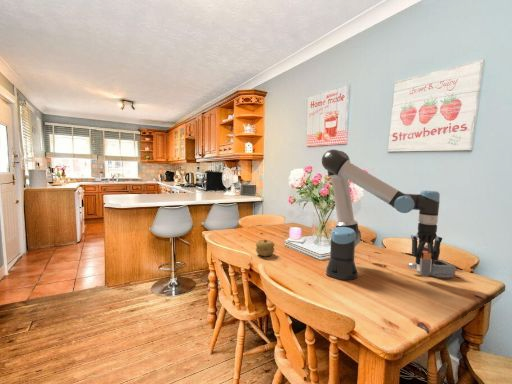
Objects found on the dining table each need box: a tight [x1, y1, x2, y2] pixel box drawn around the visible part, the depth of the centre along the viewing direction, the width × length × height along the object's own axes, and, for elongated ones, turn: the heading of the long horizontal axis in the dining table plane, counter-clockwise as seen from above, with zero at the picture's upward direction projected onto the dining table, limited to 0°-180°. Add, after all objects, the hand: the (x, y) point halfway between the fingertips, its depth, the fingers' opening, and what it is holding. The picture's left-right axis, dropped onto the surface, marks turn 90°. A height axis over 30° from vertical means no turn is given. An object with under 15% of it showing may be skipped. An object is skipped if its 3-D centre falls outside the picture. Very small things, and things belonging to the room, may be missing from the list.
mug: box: [423, 244, 441, 260], centre depth 145 cm, size 11×8×10 cm
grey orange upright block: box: [417, 251, 431, 277], centre depth 123 cm, size 4×4×11 cm
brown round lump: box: [255, 238, 275, 257], centre depth 160 cm, size 12×12×10 cm
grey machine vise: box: [407, 259, 457, 280], centre depth 132 cm, size 21×12×6 cm, turn 86°
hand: (423, 270), depth 123 cm, fingers closed on grey orange upright block, 4 cm apart
